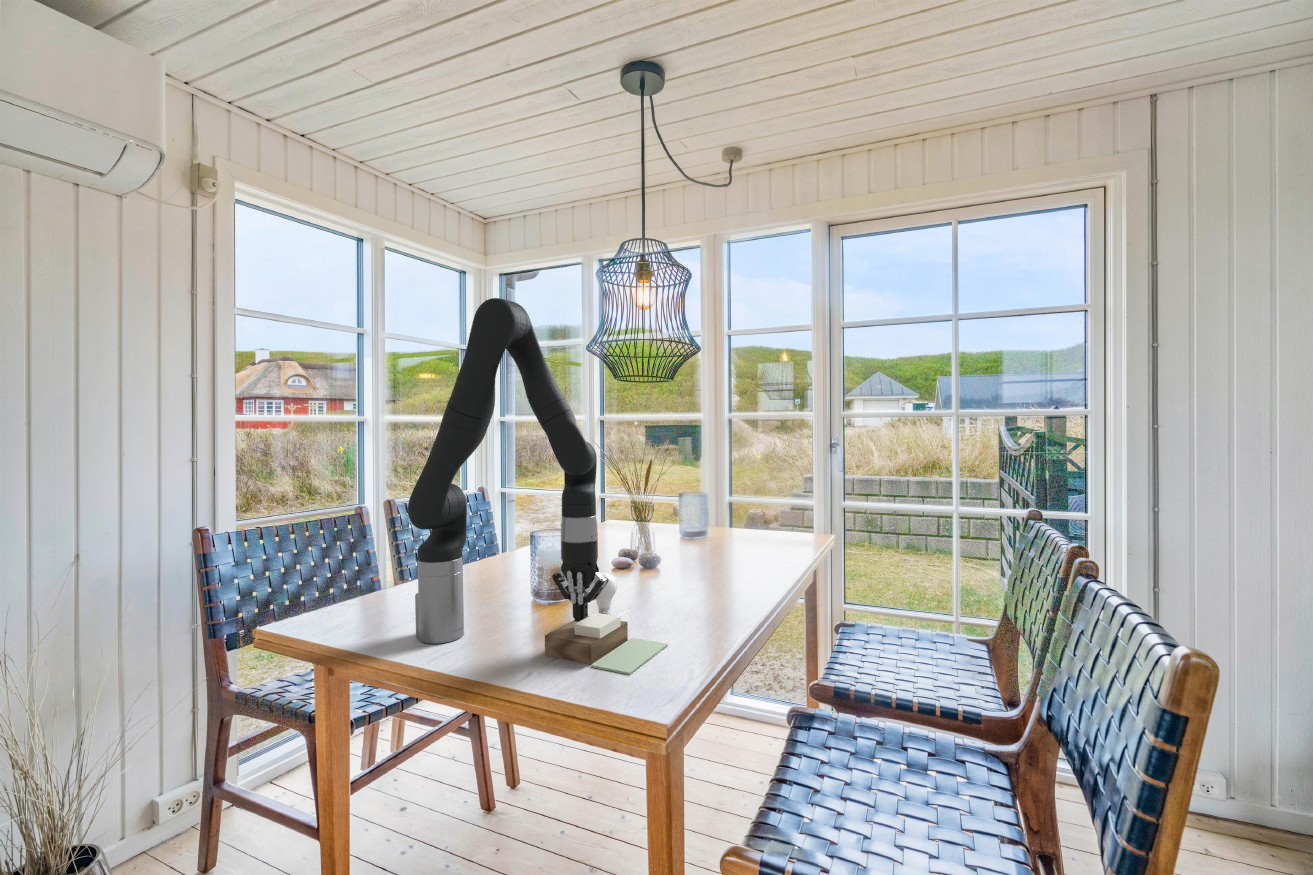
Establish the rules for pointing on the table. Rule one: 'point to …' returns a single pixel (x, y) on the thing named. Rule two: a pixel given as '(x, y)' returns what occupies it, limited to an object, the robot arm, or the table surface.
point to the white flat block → (597, 625)
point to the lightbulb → (606, 593)
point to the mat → (629, 656)
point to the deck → (583, 643)
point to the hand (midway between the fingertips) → (580, 620)
